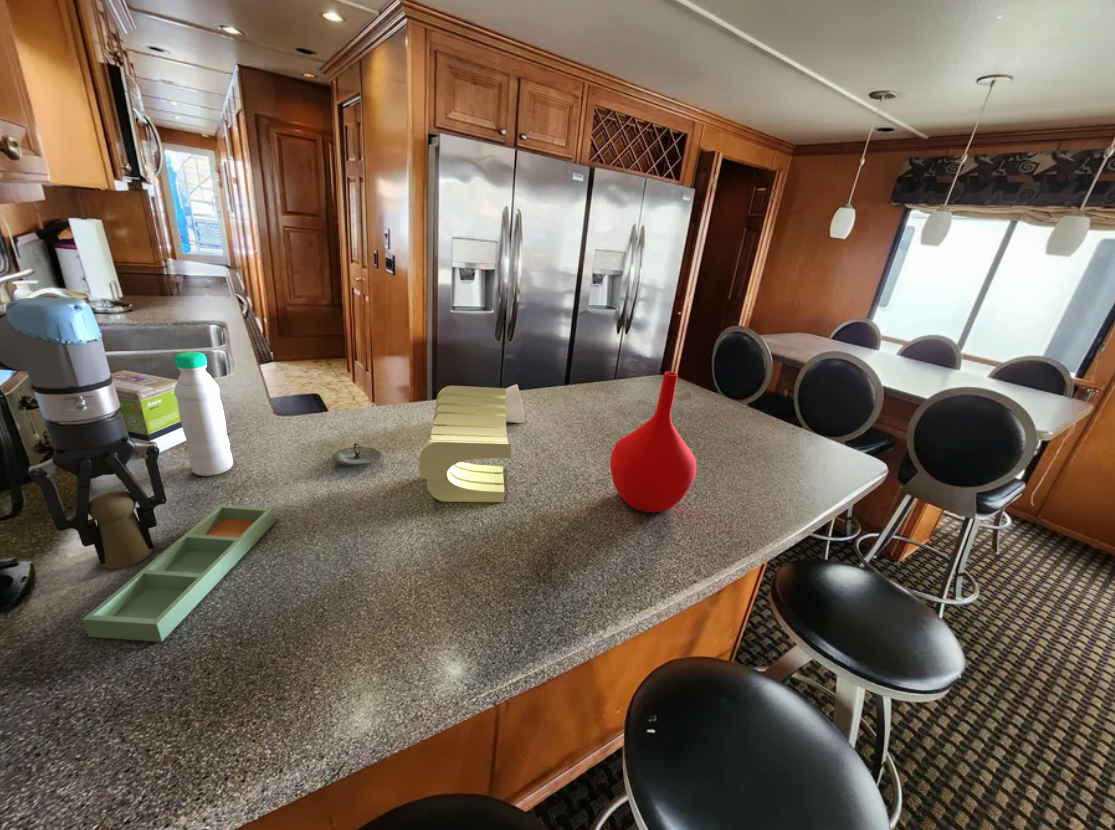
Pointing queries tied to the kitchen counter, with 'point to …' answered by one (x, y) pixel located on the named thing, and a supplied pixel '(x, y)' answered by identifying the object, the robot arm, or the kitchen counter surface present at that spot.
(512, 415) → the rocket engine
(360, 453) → the lid
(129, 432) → the tea box
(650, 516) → the kitchen counter surface
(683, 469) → the vase
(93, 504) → the cork
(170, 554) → the compartment tray
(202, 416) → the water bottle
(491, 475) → the slatted curved stool
